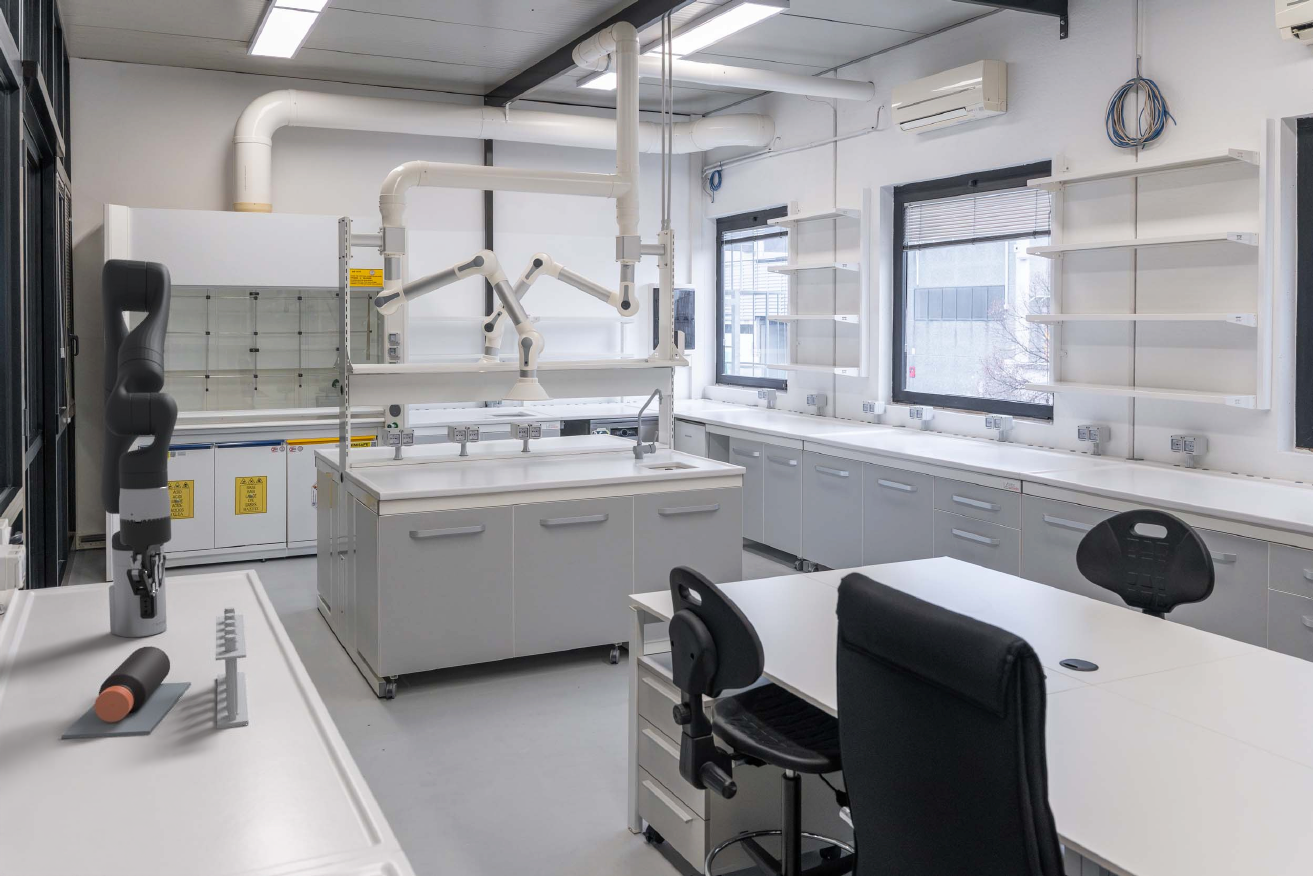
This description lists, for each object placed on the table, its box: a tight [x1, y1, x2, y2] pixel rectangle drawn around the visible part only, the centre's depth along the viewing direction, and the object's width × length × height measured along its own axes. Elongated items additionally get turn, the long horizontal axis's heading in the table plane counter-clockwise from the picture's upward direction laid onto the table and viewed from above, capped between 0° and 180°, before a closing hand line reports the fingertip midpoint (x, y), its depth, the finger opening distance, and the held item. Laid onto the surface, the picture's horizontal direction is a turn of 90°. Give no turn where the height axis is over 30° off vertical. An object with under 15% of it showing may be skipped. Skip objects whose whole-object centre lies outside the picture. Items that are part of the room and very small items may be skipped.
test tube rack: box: [215, 606, 249, 730], centre depth 164 cm, size 25×4×13 cm, turn 23°
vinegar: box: [93, 645, 171, 722], centre depth 162 cm, size 7×7×20 cm
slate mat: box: [61, 681, 192, 740], centre depth 160 cm, size 22×12×1 cm, turn 10°
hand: (148, 617), depth 168 cm, fingers closed
